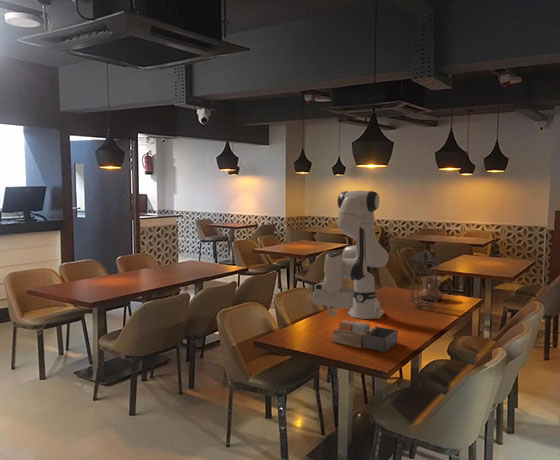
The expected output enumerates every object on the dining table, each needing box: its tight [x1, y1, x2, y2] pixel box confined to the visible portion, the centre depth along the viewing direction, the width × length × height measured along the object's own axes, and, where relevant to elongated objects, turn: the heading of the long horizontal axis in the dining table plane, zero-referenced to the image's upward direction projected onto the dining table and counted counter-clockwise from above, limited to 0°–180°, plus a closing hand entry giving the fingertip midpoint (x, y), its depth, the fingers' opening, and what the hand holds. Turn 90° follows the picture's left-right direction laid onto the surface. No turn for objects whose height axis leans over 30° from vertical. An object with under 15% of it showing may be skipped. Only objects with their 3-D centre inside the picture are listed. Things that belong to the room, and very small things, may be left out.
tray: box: [361, 326, 399, 353], centre depth 220 cm, size 16×11×6 cm
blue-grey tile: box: [352, 321, 371, 334], centre depth 225 cm, size 6×6×3 cm
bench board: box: [332, 327, 375, 349], centre depth 227 cm, size 16×14×5 cm
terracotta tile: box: [338, 319, 357, 331], centre depth 229 cm, size 6×6×3 cm
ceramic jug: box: [418, 275, 443, 302], centre depth 315 cm, size 18×14×14 cm
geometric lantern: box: [409, 249, 443, 311], centre depth 292 cm, size 16×16×35 cm
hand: (332, 315), depth 232 cm, fingers closed
